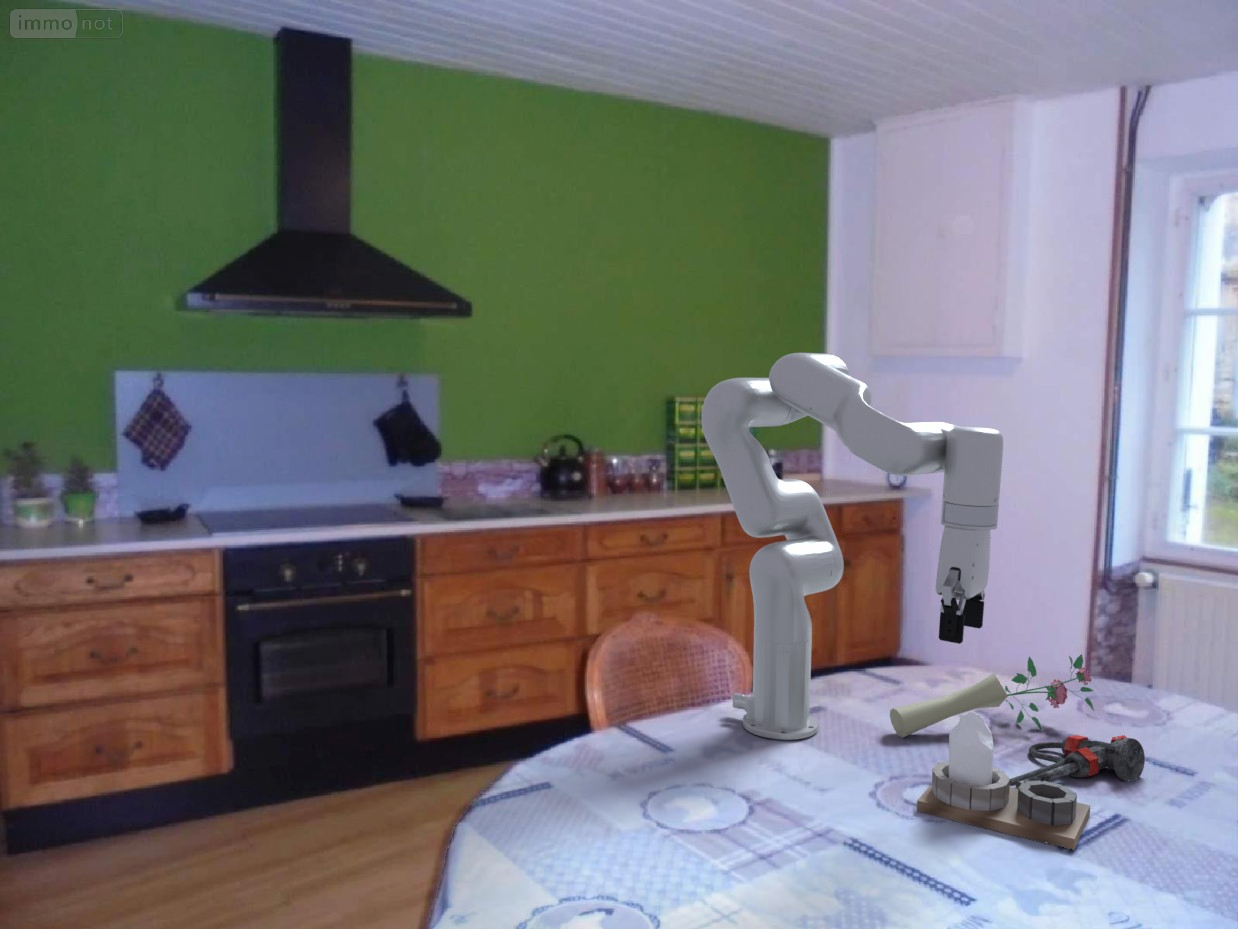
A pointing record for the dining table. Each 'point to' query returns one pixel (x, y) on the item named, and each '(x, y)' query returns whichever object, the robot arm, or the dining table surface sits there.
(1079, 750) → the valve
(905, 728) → the flower vase
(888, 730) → the dining table surface
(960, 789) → the fitting board
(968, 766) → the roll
